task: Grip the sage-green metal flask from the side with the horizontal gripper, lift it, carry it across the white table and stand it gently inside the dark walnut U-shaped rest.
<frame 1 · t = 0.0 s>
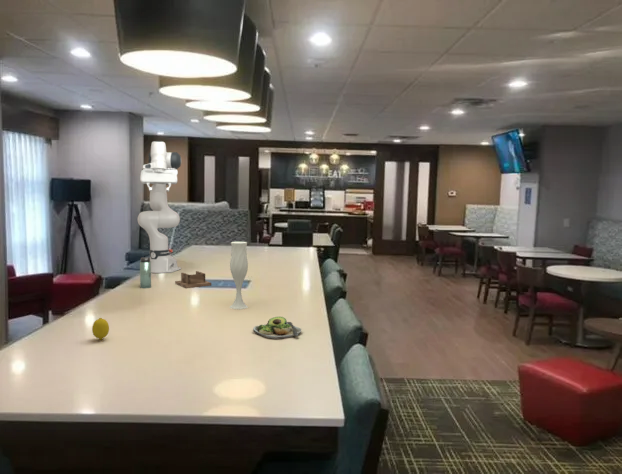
hand: (159, 191, 285), 52 cm above the table, tool tilted 20°, fingers open, 8 cm apart
flask: (145, 287, 275), on the table
u rest: (193, 284, 284), on the table
vase: (238, 307, 234), on the table
salad plate: (277, 333, 195), on the table
lemon: (100, 340, 181), on the table
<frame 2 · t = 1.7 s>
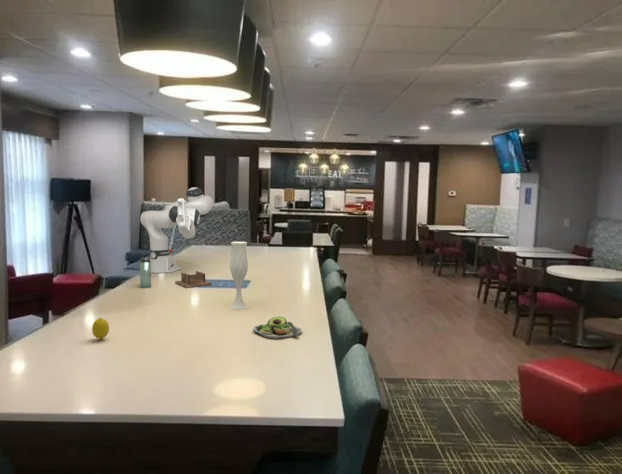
hand: (179, 206, 285), 43 cm above the table, tool pointing upward, fingers open, 8 cm apart
nothing on the table moved.
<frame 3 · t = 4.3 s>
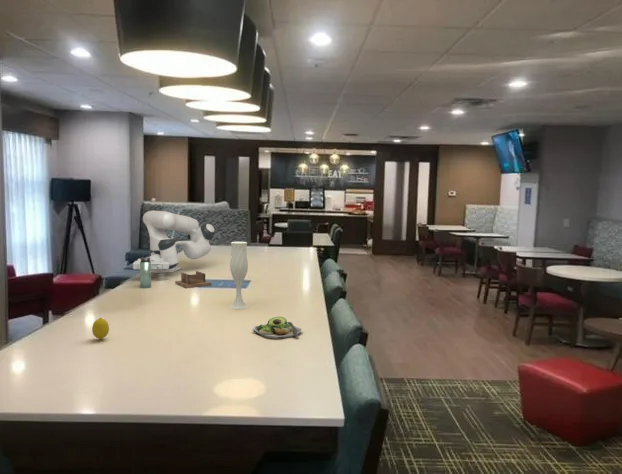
hand: (149, 267, 285), 9 cm above the table, tool horizontal, fingers open, 8 cm apart
nothing on the table moved.
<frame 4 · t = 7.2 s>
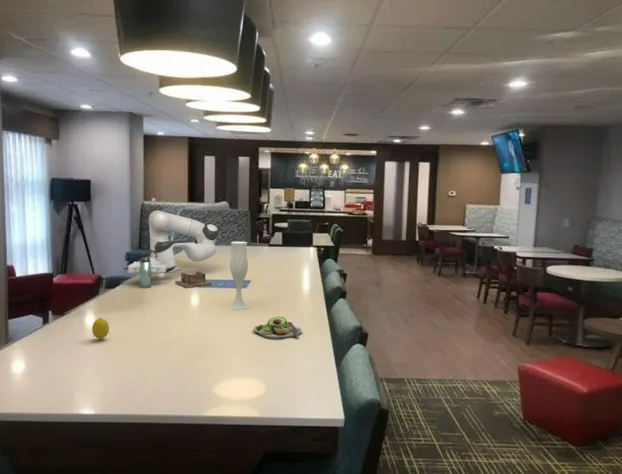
hand: (145, 271, 273), 9 cm above the table, tool horizontal, fingers closed on flask, 6 cm apart
flask: (145, 287, 275), on the table, touching gripper
everything else where it was.
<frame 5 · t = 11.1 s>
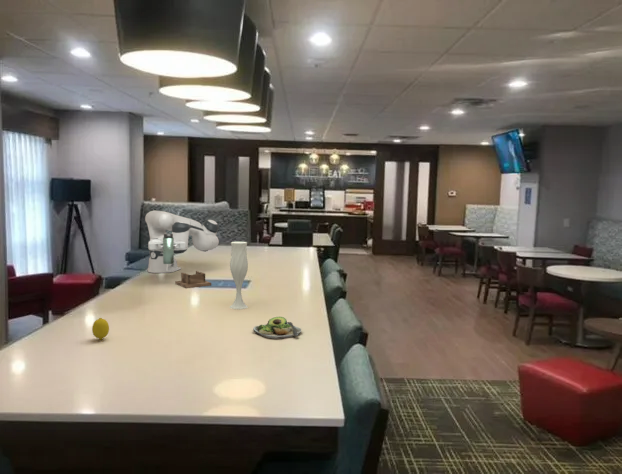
hand: (168, 247, 275), 22 cm above the table, tool horizontal, fingers closed on flask, 6 cm apart
flask: (168, 263, 276), point 13 cm above the table, touching gripper
everything else where it was.
when the fingers open (12 cm above the table, at t = 15.3 s): flask drops 1 cm, resting on u rest.
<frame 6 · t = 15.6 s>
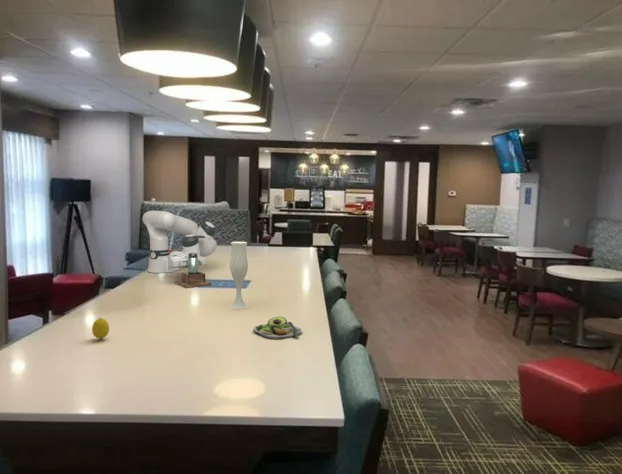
hand: (193, 263, 282), 12 cm above the table, tool horizontal, fingers open, 8 cm apart
flask: (193, 281, 284), point 2 cm above the table, touching u rest
everything else where it was.
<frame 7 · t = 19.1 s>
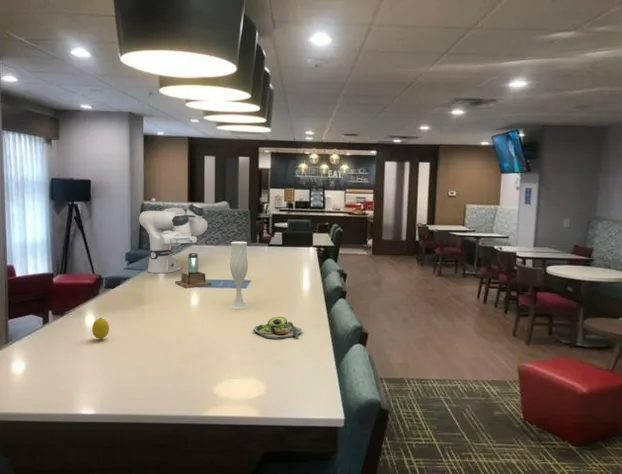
hand: (184, 241, 291), 23 cm above the table, tool horizontal, fingers open, 8 cm apart
nothing on the table moved.
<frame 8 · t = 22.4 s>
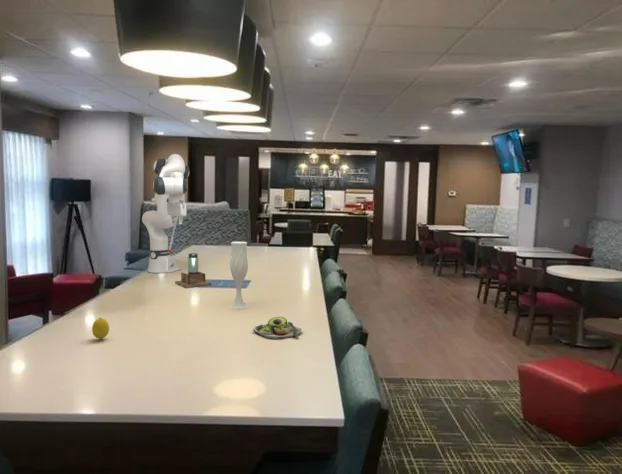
hand: (177, 223, 295), 33 cm above the table, tool pointing down, fingers open, 8 cm apart
nothing on the table moved.
at the end: flask 0.1 cm off-centre on the u rest, point 1.5 cm above the u rest's base; flask tilted 0°; the gripper is holding nothing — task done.
